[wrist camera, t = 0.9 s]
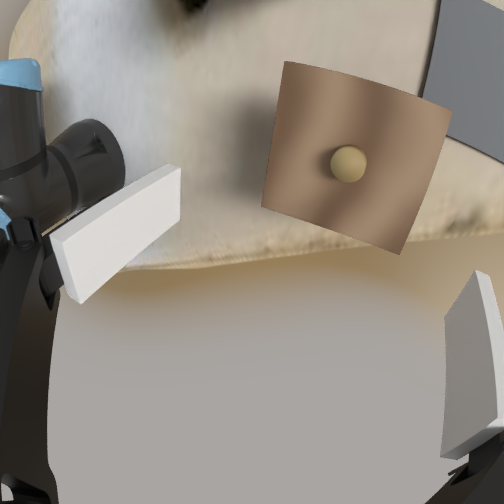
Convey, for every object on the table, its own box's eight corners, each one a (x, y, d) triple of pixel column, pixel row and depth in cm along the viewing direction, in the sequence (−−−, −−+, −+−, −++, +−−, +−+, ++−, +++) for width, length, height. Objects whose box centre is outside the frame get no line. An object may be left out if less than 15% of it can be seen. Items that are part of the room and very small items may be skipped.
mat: (415, 121, 27) (415, 122, 26) (442, -15, 17) (443, -17, 17) (523, 173, 23) (525, 175, 23) (556, 46, 14) (558, 46, 13)
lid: (267, 199, 27) (254, 213, 25) (290, 61, 20) (277, 60, 18) (399, 246, 24) (398, 264, 22) (449, 109, 17) (457, 114, 15)
